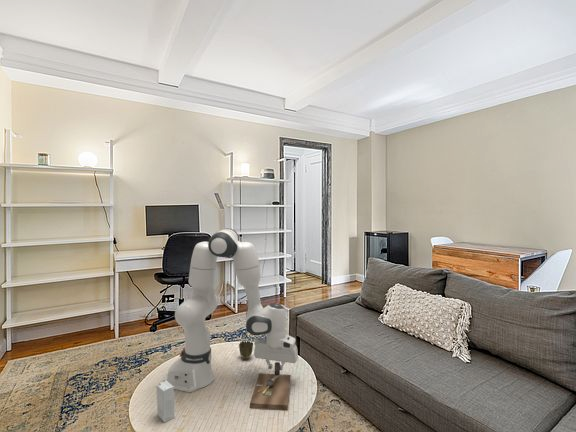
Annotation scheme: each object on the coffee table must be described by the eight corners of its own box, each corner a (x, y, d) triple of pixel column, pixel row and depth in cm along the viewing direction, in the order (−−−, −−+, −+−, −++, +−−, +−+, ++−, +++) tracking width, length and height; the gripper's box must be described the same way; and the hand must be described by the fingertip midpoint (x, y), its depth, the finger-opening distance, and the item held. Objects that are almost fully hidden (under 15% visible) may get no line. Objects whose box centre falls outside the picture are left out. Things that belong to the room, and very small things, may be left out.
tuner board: (249, 408, 123) (250, 402, 123) (258, 377, 145) (258, 372, 145) (287, 410, 123) (287, 404, 122) (290, 379, 144) (290, 374, 144)
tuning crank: (266, 395, 128) (266, 381, 128) (259, 394, 129) (260, 379, 129) (281, 375, 143) (281, 362, 143) (275, 374, 144) (275, 361, 144)
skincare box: (175, 417, 117) (175, 386, 117) (163, 423, 114) (163, 391, 114) (167, 409, 121) (167, 379, 121) (156, 415, 118) (156, 384, 118)
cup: (250, 362, 159) (250, 347, 158) (236, 361, 160) (236, 345, 160) (254, 355, 166) (255, 341, 166) (241, 354, 167) (241, 339, 167)
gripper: (252, 339, 141) (251, 369, 142) (295, 345, 136) (295, 375, 137) (256, 334, 147) (256, 362, 148) (298, 339, 142) (298, 368, 143)
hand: (275, 369), depth 142 cm, fingers open, 4 cm apart
